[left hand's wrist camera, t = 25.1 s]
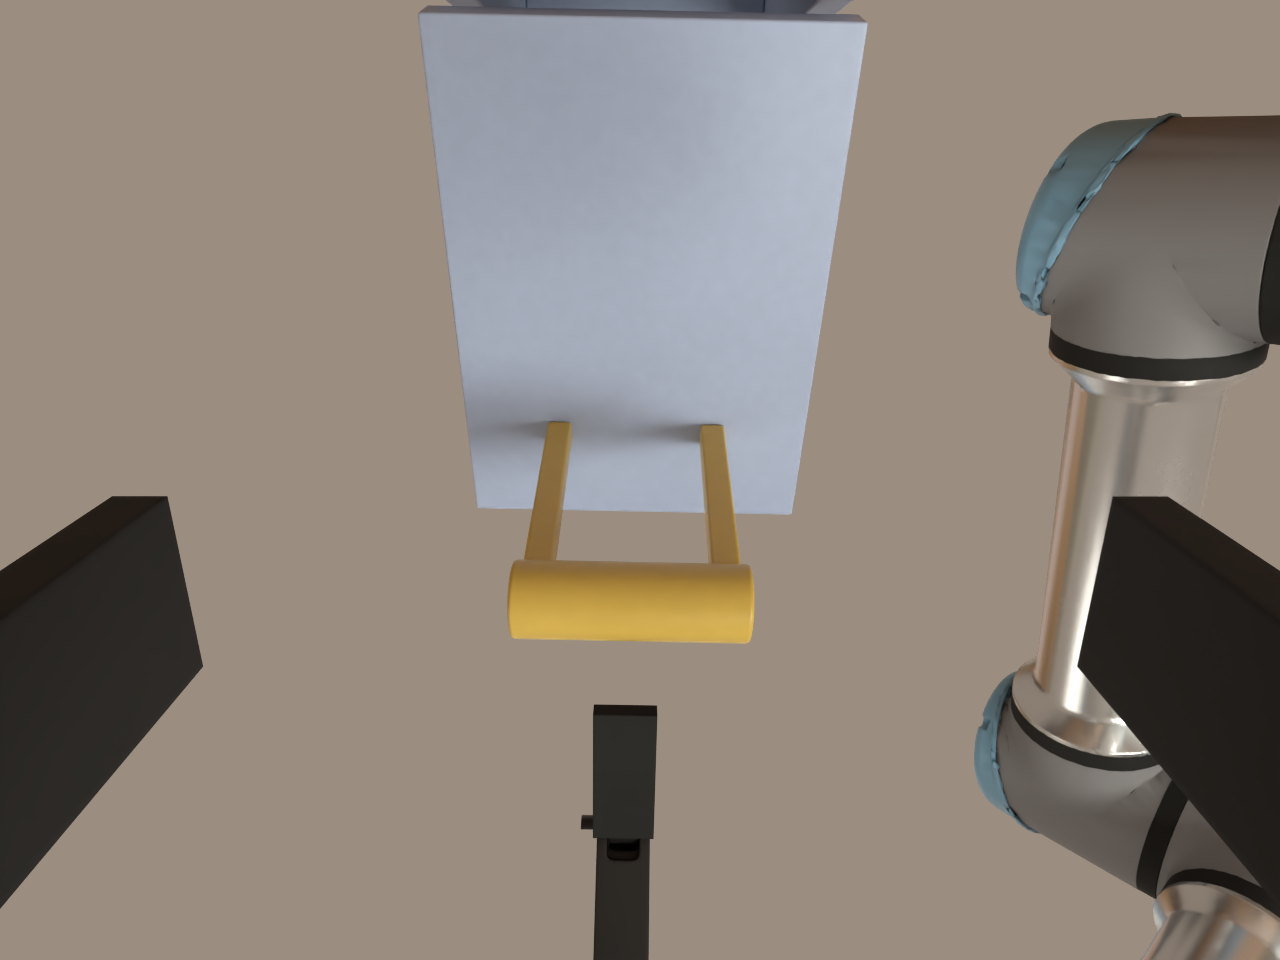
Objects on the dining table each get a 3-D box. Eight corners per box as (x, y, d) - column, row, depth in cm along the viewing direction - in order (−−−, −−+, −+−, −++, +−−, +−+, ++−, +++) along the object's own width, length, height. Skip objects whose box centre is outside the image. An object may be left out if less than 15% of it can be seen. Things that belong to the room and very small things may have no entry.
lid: (787, 495, 29) (833, 720, 21) (481, 489, 29) (423, 712, 21) (860, 14, 20) (976, 116, 13) (426, 5, 20) (300, 102, 13)
